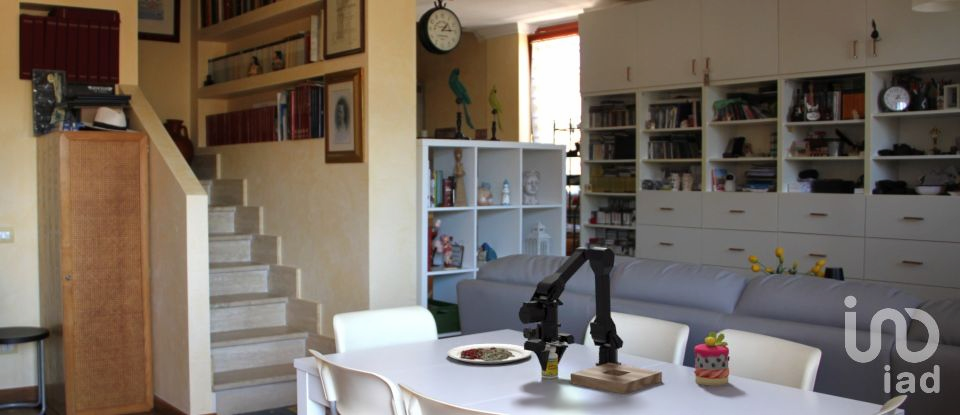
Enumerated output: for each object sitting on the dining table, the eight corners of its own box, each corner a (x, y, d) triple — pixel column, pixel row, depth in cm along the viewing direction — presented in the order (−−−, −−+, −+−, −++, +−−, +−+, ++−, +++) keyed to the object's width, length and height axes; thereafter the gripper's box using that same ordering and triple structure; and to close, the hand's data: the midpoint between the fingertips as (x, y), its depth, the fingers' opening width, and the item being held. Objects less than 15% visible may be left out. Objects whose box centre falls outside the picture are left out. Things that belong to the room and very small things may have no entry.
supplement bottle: (551, 374, 281) (550, 344, 281) (561, 377, 277) (561, 347, 276) (537, 376, 278) (537, 346, 278) (548, 379, 274) (547, 349, 273)
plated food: (549, 358, 306) (549, 349, 306) (478, 370, 289) (478, 360, 289) (499, 345, 330) (499, 336, 330) (431, 355, 314) (431, 346, 313)
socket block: (609, 371, 283) (608, 362, 283) (661, 381, 269) (661, 371, 269) (570, 383, 269) (570, 373, 269) (624, 393, 255) (624, 383, 255)
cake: (728, 387, 261) (728, 337, 260) (692, 385, 264) (691, 336, 264) (730, 379, 270) (730, 331, 270) (696, 377, 274) (695, 330, 273)
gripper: (548, 314, 289) (549, 360, 290) (510, 321, 276) (511, 370, 276) (575, 317, 281) (575, 365, 282) (537, 325, 268) (538, 375, 268)
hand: (549, 369), depth 277 cm, fingers closed on supplement bottle, 5 cm apart
